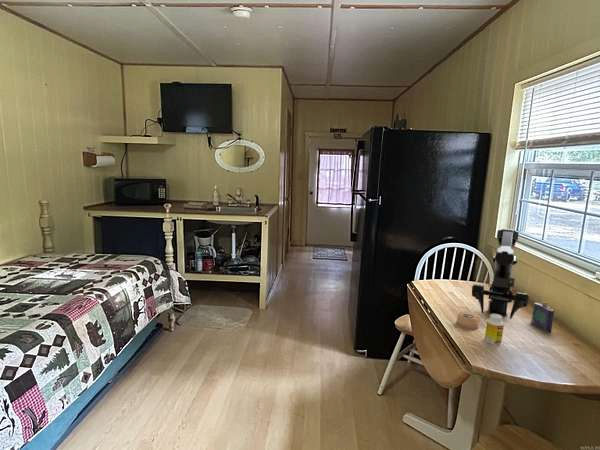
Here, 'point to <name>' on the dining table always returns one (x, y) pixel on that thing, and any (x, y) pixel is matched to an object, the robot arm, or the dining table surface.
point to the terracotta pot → (467, 320)
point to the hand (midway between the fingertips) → (496, 315)
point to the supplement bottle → (494, 329)
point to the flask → (542, 316)
